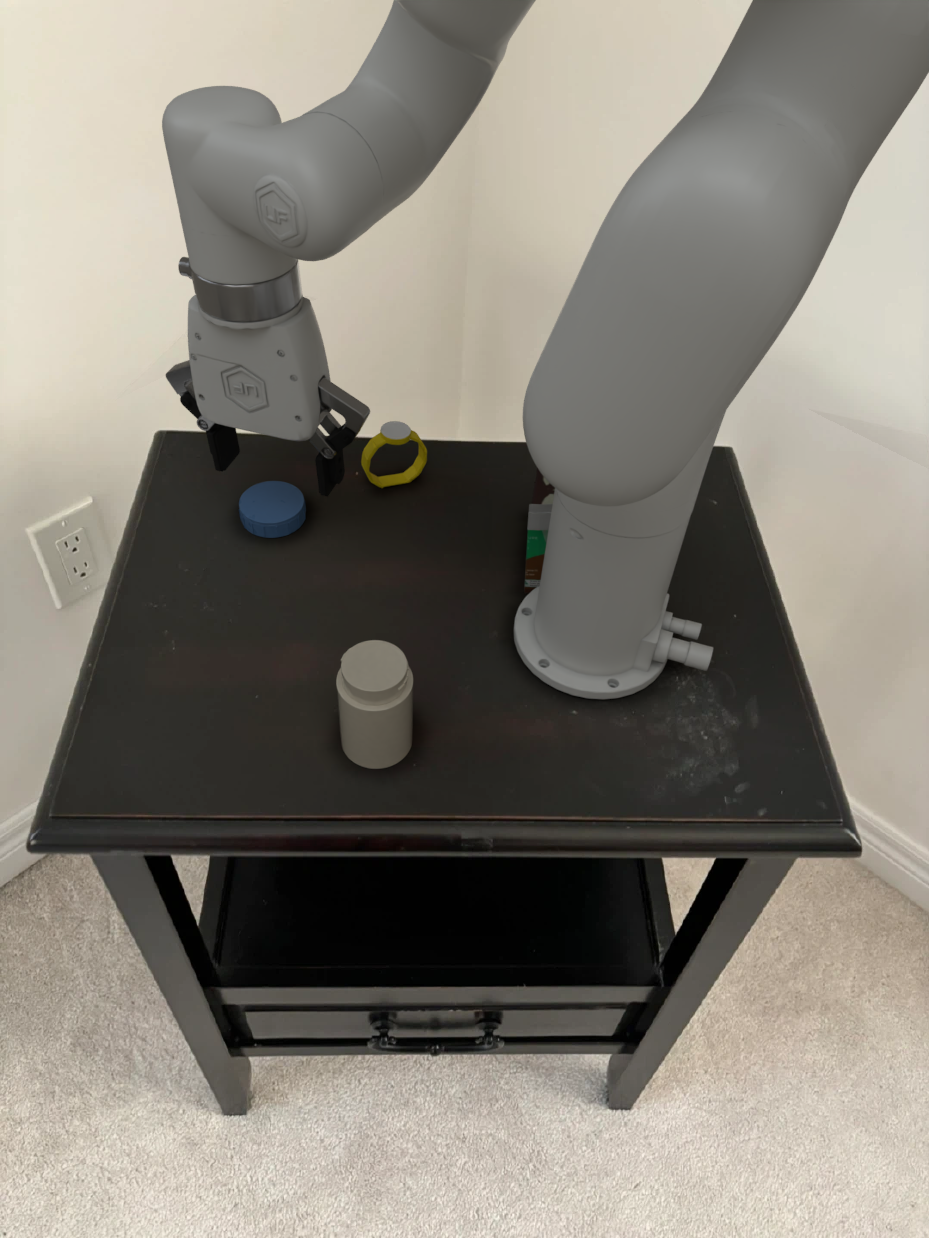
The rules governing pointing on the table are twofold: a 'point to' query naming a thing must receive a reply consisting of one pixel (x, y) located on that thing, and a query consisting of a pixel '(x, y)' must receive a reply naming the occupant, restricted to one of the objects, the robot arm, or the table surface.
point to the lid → (272, 509)
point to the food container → (538, 530)
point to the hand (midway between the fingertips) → (279, 474)
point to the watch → (395, 436)
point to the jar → (375, 704)
